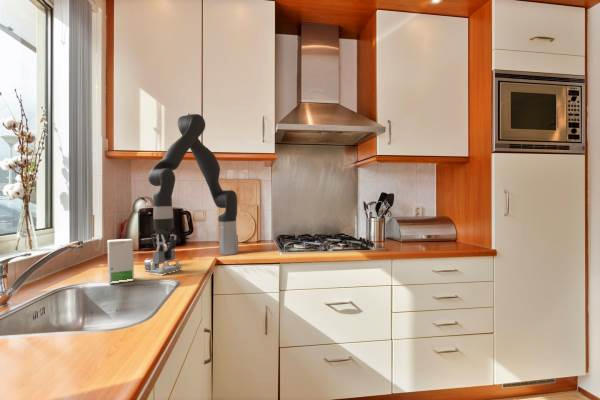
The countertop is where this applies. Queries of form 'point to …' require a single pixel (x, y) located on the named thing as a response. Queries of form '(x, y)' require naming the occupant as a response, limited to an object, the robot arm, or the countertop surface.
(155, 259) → the steel bar
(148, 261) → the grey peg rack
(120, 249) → the skincare box
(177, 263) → the peg board
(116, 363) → the countertop surface
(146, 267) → the base
